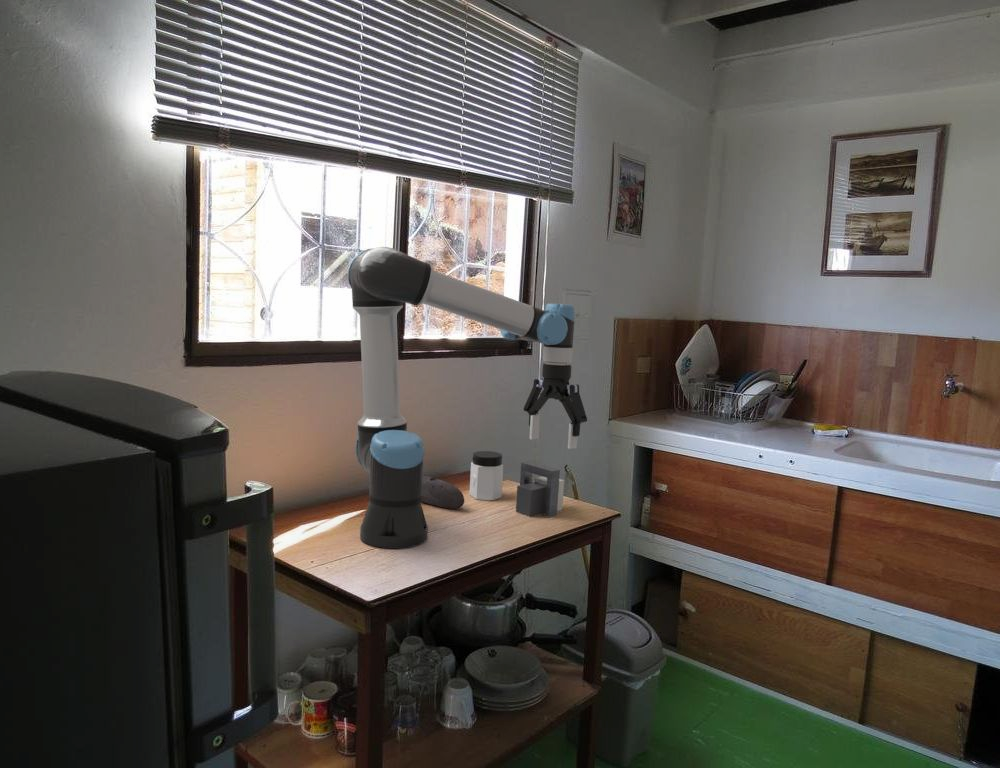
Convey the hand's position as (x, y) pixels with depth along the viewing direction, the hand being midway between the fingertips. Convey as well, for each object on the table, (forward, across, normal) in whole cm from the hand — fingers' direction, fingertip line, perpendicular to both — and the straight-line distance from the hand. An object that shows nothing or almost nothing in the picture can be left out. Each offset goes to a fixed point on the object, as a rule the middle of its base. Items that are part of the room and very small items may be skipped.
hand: (552, 443), depth 187 cm
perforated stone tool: (+18, +18, +23) cm, 34 cm away
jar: (+18, +18, +7) cm, 26 cm away
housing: (+18, 0, +4) cm, 18 cm away
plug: (+18, 0, +3) cm, 18 cm away
